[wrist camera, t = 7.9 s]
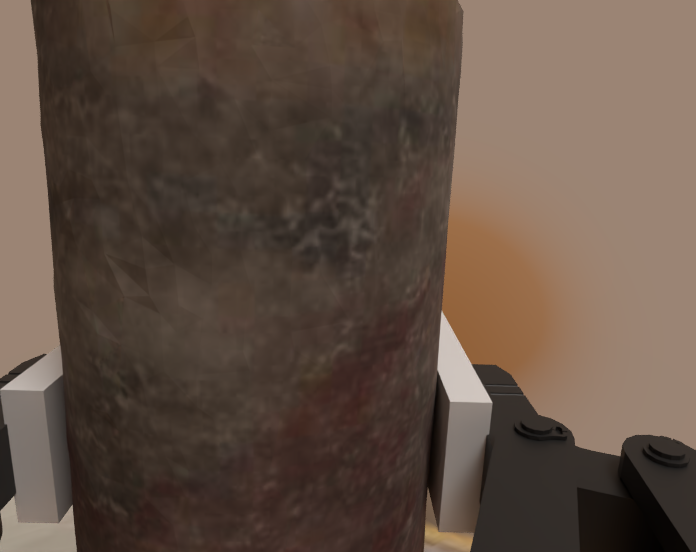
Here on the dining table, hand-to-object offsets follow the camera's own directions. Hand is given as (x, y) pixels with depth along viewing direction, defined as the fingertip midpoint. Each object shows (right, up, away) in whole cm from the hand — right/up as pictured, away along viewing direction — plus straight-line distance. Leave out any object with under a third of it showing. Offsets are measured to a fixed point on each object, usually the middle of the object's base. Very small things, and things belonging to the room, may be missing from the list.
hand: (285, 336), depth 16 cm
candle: (0, -12, -2) cm, 12 cm away
